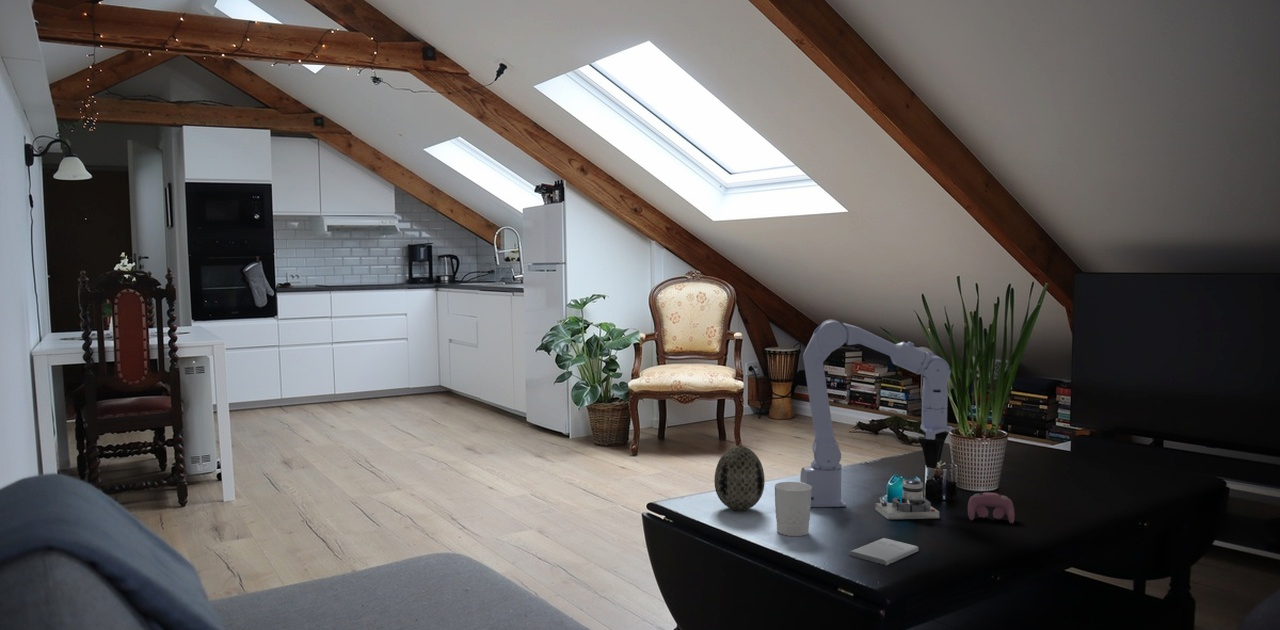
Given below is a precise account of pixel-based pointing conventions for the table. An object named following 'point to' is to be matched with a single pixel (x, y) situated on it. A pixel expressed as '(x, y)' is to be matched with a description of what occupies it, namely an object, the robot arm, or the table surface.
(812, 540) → the table surface
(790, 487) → the white cup
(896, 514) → the white display stand
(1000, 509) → the video game controller
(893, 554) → the external hard drive
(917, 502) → the lens
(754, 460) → the decorative egg
